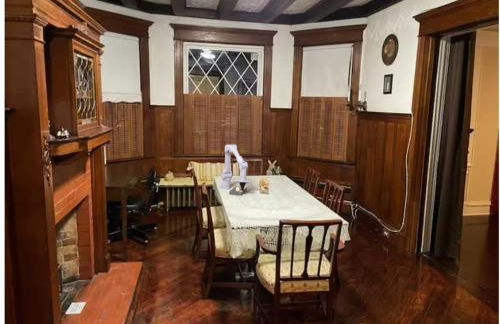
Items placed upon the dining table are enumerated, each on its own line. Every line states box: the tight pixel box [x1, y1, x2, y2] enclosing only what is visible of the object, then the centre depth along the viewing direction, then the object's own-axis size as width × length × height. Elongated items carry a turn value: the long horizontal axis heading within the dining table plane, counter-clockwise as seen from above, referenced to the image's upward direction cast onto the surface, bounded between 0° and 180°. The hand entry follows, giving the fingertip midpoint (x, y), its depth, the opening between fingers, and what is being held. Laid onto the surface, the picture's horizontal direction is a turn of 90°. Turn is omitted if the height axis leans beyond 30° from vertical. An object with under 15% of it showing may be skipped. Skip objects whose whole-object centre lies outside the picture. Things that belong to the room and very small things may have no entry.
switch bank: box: [228, 185, 248, 197], centre depth 343 cm, size 11×21×3 cm, turn 166°
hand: (242, 190), depth 335 cm, fingers closed
